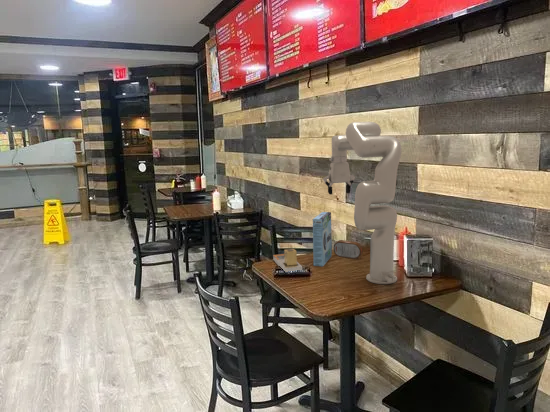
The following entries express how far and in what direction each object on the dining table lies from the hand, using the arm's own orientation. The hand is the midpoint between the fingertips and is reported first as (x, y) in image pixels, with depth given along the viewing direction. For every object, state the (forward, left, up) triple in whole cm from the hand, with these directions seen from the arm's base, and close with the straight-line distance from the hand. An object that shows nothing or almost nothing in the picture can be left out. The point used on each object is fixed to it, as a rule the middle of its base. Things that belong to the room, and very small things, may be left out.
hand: (339, 193), depth 217 cm
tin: (-10, 0, -31) cm, 33 cm away
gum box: (-12, +14, -31) cm, 36 cm away
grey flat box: (-15, +33, -31) cm, 47 cm away
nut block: (-21, +33, -31) cm, 49 cm away
